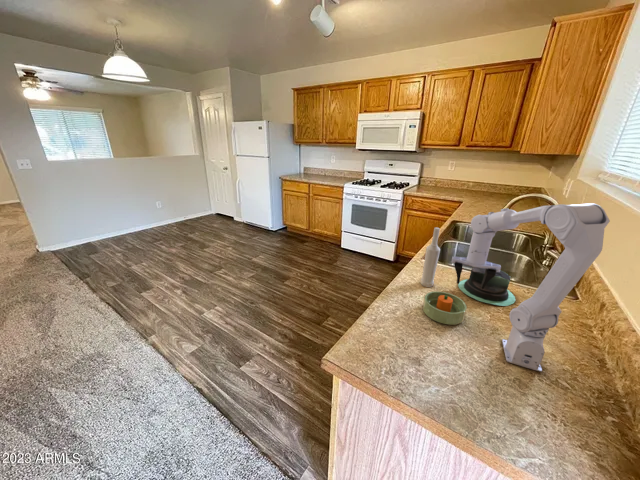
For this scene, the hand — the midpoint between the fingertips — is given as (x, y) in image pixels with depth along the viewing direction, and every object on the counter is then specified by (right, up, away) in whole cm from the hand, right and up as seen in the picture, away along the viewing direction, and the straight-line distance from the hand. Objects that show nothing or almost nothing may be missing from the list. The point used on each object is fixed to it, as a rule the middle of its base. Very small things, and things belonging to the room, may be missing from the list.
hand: (469, 284), depth 93 cm
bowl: (-10, -10, 0) cm, 14 cm away
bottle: (-8, -3, +18) cm, 20 cm away
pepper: (-10, -10, -1) cm, 14 cm away
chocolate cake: (+14, -5, +14) cm, 20 cm away
